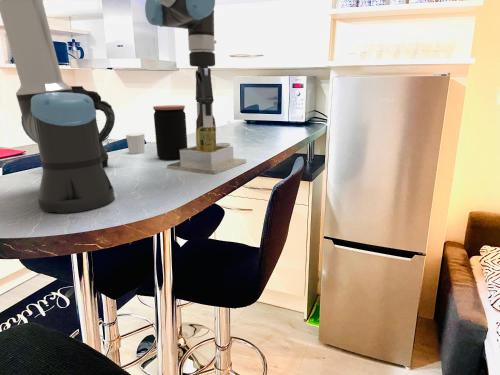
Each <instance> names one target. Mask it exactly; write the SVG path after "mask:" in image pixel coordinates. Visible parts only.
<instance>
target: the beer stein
mask: <svg viewBox="0 0 500 375" xmlns="http://www.w3.org/2000/svg"><path fill="white" fill-rule="evenodd" d="M69 86H70V85H69ZM70 87H71V88H72V91H73V93H79V94H84V95H87V96H89V97H90V98H91V99H92V100H93V103H94V108H95V110H96V111H100V112H103V114H104V116H105V123H104V126H103V128H102V129H101V130H99V127H98V125H97V130H98V137H99V145H100V153H101V161H102V166H103V168H104V169H105V168H107V167H108V161H109V154H108V153H107V151H106V149H105V147H104V145H103V142H104V141H105V140H106V139H107V138H108V136H110V134H111V132H112V130H113V128H114V126H115V123H116V122H115V119H116V117H115V116H116V115H115V112H114V109H113V107H112V105H111V104H110V103H108V101H105V100H102V97H101V95H100V94H99V92H97V91H93V90H92V91H91V90H87V89H86V88H84V87H83V85H81V86H80V85H76V86H75V85H73V86H72V85H71V86H70Z"/></svg>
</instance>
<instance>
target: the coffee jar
mask: <svg viewBox="0 0 500 375" xmlns="http://www.w3.org/2000/svg"><path fill="white" fill-rule="evenodd" d="M185 107H186V106H185V105H178V104H176V105H175V104H173V105H168V104H167V105H155V106H154V105H153V107H152V109H153V110H154V113H153V119H154V120H153V121H154V134H155V144H156V155H157V157H158V159H159V160H163V161H178V160H180V150H181V149H185V148H188V137H187V136H188V134H187V132H188V131H187V120H186V119H187V118H186V116H187V115H186V112H185V111H184V110H185V109H186V108H185Z"/></svg>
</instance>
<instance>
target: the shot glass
mask: <svg viewBox="0 0 500 375" xmlns="http://www.w3.org/2000/svg"><path fill="white" fill-rule="evenodd" d="M125 137H126V142H127V147H128V148H127V149H128V152H129V154H131V155H139V154H140V155H141V154H144V153H145V152H146V151H145V143H146V142H145V141H146V140H145V137H146V136H145V134H144V133H129V134H125Z"/></svg>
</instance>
